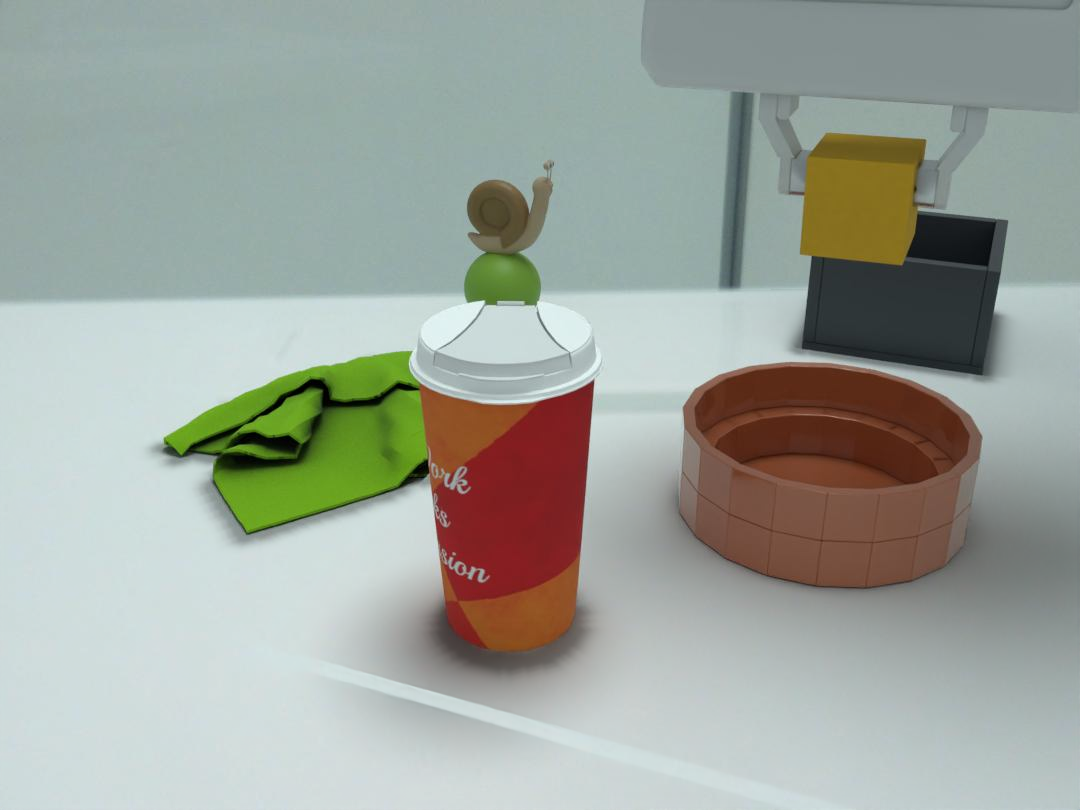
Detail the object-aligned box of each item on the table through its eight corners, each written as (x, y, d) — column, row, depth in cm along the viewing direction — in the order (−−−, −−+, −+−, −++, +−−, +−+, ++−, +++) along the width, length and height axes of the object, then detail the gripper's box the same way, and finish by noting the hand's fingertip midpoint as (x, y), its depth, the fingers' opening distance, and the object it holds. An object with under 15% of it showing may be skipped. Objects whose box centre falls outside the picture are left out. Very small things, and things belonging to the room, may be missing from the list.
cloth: (530, 359, 77) (530, 325, 76) (513, 537, 57) (512, 495, 56) (226, 356, 77) (222, 322, 76) (106, 531, 58) (98, 489, 57)
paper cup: (435, 570, 55) (421, 292, 49) (597, 573, 54) (603, 294, 48) (412, 677, 48) (392, 369, 42) (598, 681, 47) (605, 372, 41)
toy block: (914, 234, 54) (926, 138, 52) (902, 265, 50) (914, 164, 48) (818, 225, 56) (826, 132, 54) (799, 255, 52) (807, 156, 50)
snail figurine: (540, 343, 79) (540, 171, 74) (453, 332, 81) (447, 163, 76) (563, 315, 84) (564, 151, 79) (480, 305, 86) (476, 144, 80)
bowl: (972, 478, 62) (989, 386, 60) (951, 627, 51) (971, 520, 48) (716, 432, 67) (722, 346, 65) (642, 559, 56) (647, 459, 53)
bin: (991, 314, 84) (1008, 219, 81) (981, 376, 74) (1001, 271, 71) (830, 293, 88) (840, 202, 85) (801, 349, 78) (812, 249, 75)
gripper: (1186, -146, 45) (1112, 201, 51) (676, -142, 52) (665, 162, 58) (1202, -141, 40) (1117, 245, 46) (632, -138, 47) (626, 196, 53)
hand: (861, 198), depth 52 cm, fingers closed on toy block, 4 cm apart
